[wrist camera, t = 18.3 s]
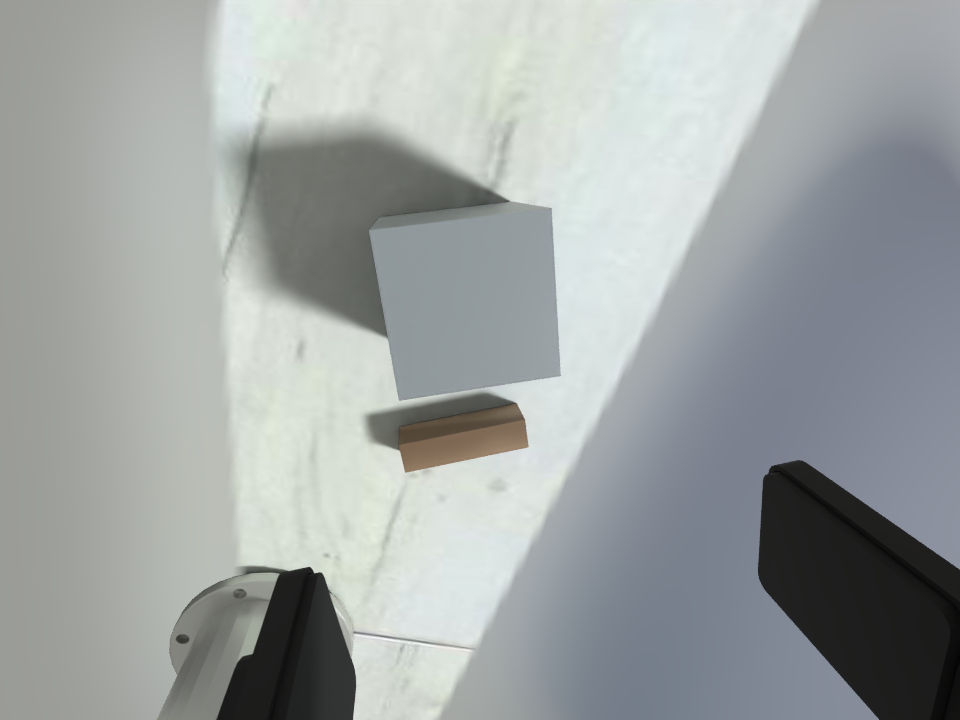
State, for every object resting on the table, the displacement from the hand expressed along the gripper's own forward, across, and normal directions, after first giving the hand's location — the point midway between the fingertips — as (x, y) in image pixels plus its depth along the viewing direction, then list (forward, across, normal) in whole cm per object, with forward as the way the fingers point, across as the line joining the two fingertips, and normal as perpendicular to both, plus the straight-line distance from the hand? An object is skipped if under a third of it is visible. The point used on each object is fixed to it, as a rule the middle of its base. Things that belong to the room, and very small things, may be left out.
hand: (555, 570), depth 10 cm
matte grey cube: (+22, 0, -2) cm, 22 cm away
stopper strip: (+22, +1, +8) cm, 24 cm away
